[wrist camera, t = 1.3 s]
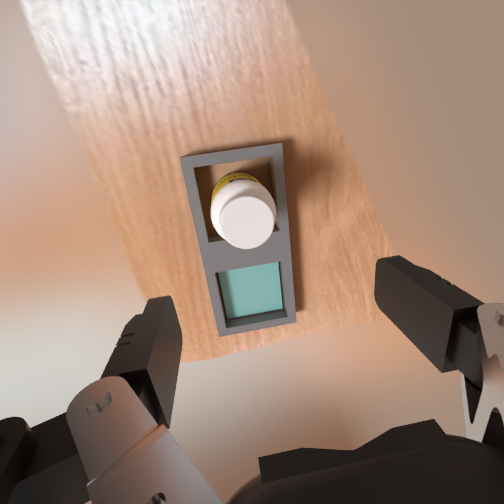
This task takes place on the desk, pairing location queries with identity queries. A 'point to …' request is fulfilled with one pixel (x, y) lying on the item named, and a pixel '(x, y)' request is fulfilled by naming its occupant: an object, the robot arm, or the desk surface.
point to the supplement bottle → (242, 210)
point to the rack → (246, 253)
